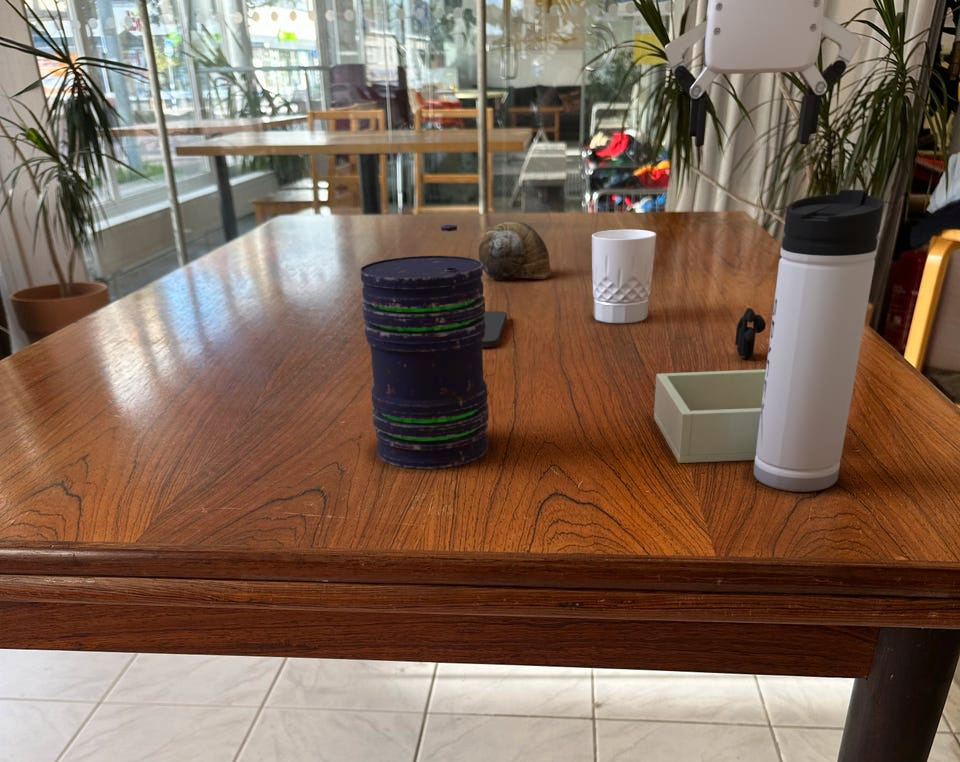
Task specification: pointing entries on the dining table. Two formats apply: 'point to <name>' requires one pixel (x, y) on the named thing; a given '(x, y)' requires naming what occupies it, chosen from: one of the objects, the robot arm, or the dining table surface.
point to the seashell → (514, 252)
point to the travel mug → (816, 338)
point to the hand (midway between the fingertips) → (750, 144)
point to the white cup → (622, 274)
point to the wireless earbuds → (748, 333)
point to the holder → (710, 414)
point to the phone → (493, 327)
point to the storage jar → (427, 359)
